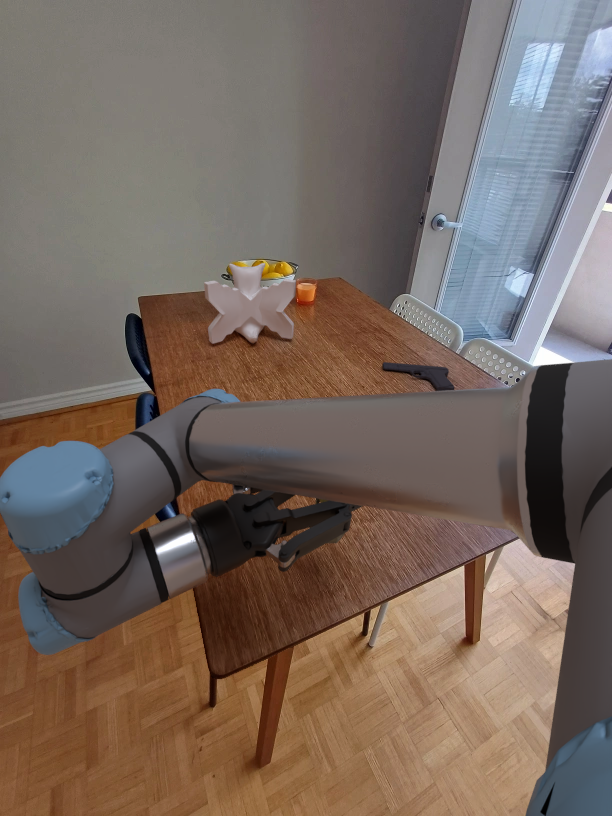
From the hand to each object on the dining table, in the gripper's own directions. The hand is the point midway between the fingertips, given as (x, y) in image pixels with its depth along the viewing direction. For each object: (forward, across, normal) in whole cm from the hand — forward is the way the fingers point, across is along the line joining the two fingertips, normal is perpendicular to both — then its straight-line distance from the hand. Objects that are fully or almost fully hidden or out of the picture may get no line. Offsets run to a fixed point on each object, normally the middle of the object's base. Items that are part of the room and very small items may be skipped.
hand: (369, 470), depth 53 cm
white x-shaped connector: (+18, -78, -17) cm, 82 cm away
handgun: (+47, -34, -17) cm, 60 cm away
